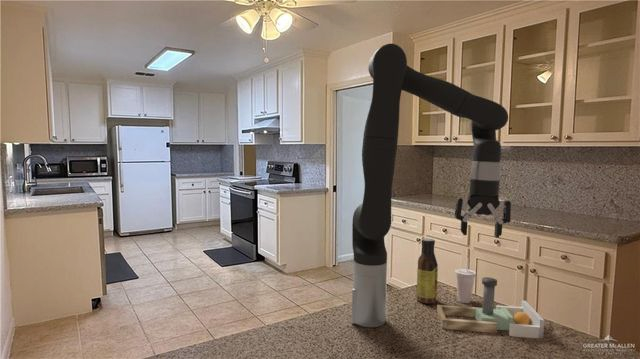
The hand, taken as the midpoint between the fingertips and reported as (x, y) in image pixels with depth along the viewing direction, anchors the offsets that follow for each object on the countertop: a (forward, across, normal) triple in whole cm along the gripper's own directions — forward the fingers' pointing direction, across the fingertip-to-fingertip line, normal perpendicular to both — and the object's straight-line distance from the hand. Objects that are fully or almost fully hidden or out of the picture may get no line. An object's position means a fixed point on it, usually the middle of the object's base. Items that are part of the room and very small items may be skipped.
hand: (480, 235), depth 109 cm
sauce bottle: (+25, -12, +13) cm, 30 cm away
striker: (+24, +5, -1) cm, 25 cm away
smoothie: (+25, 0, +15) cm, 29 cm away
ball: (+22, +12, -1) cm, 25 cm away
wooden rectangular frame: (+25, -2, -1) cm, 25 cm away
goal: (+24, +11, -1) cm, 27 cm away
